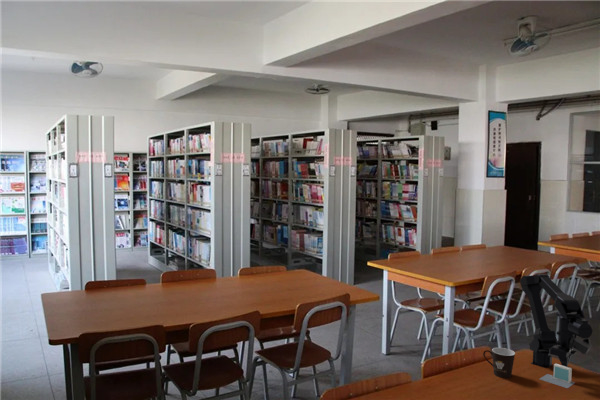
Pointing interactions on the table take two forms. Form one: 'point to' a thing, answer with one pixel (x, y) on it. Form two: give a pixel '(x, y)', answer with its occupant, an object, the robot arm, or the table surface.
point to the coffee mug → (502, 361)
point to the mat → (556, 381)
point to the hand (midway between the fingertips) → (565, 368)
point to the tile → (562, 373)
